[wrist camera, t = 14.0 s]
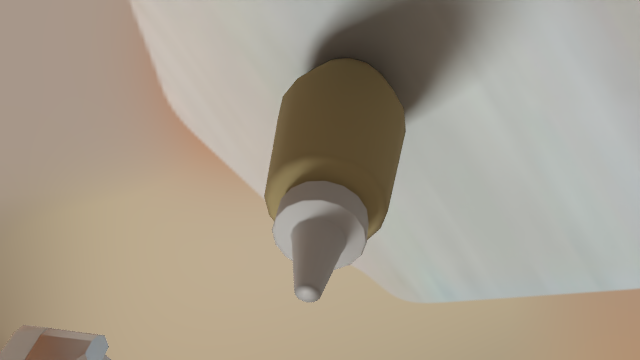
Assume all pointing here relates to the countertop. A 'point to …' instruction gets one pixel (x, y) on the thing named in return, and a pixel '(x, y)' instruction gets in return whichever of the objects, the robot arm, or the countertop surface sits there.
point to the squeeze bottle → (332, 168)
